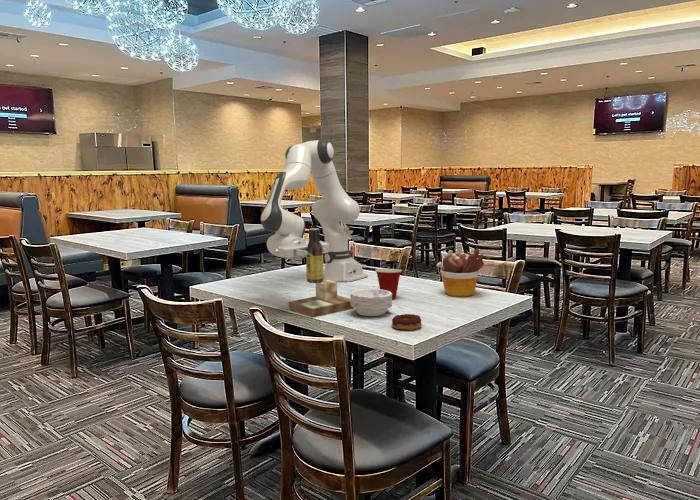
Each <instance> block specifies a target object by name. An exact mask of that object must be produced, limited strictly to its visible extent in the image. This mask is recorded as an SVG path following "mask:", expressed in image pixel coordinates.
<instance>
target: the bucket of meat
mask: <svg viewBox="0 0 700 500" xmlns="http://www.w3.org/2000/svg"><path fill="white" fill-rule="evenodd" d="M444 257H445V258H444V259H443V261H442V262H441V261H439V262H438V263H437V264H436V267H437V268H440V269H439V271H440V275H441V279H442V280H441V281H442V284H443V290H444V293H446V294H447V295H448V296H451V297H456V298H457V297H458V298H466V297H471V296H473V295H474V294H475V290H476V286H477V282H478V277H479V274H480V270H481V269H482V268H483V267H484V265H485V263H484V261H483V259H484V254H483V253H481V254H480V249H478V248H475V250H474V251H473V253H471V254H469V253H465V252H460V254H459V253H455V252H454V251H453V250H451V249H449V250H448V252H446V253H445V254H444Z"/></svg>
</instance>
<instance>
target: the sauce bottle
mask: <svg viewBox="0 0 700 500" xmlns="http://www.w3.org/2000/svg"><path fill="white" fill-rule="evenodd" d="M320 232H321V231H320V228H316V227H315V228H309V229H308V238H309V243H308V246H307V249H306V250H307V251H309V255H308V256H306V257H305V261H306V262H305V265H306V267H305V268H306V271H305V272H306V282H307V283H309V284H315V283H321V282H323V281H324V280H323V277H324V253H323V247H322V244H321V243H320V234H321V233H320Z"/></svg>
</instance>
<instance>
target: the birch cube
mask: <svg viewBox="0 0 700 500" xmlns="http://www.w3.org/2000/svg"><path fill="white" fill-rule="evenodd" d="M314 285H315V296H316V297H317V298H321V299H325V300H326V299H331V298H335V297H337V295H338V282H334V281H330V280H323V282H321V283H314Z"/></svg>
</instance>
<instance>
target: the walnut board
mask: <svg viewBox="0 0 700 500" xmlns="http://www.w3.org/2000/svg"><path fill="white" fill-rule="evenodd" d="M350 299H351V297H345V296H342V295H338V294H337V297H335V298H331V299H326V300H325V299H321V298H317V297H316V295H315V296H311V297H306V298H301V299H296V300H290V301H288V310H290V311H293V312H295V313H299V314H301V315H304V316H308V317H311V318H312V319H313V318H317V317H321V316H327V315H330V314H334V313H340V312H344V311H348V310H353V309H355V308H354V307H352V306H351V301H350Z"/></svg>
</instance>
